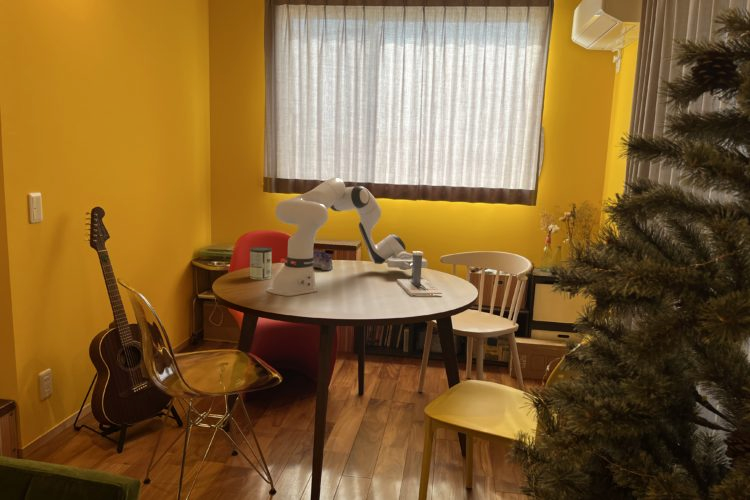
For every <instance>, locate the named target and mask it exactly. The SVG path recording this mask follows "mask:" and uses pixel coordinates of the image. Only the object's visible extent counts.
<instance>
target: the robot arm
mask: <svg viewBox="0 0 750 500" xmlns="http://www.w3.org/2000/svg"><path fill="white" fill-rule="evenodd" d="M329 208H330V209H331V210H332V211H334V212H346V211H353V210H356V212H357V214H358V215H359V223H358V227H359V231H360V234H361V236H362V239H363V241H364V243H365V246H366V249H367V252H368V255H369V258H370V260H371V261H372V262H373V263H374V264H376V265H382V264H384V263H385V264H386V266H387V268H394V269H395V268H398V269H399V270H402V271H406V270H412V263H413V254H412V253H410V252H407V251H406V250H407V249H406V244H405V242H404V241H403V240H402V239H401V238H400V237H399V236H398V235H397V234H393V233H390V234H389V235H388V236H386V237H384V238H383V239H382V240H381V241H379V242H377V244H375V242H374V240H373V237H372V231H373V229H374V228H375V226H376V225H377V224H378V222H379V221H380V218H381V217H382V209H381V206H380V204H379V203H378V200H377V199H376V198H375V196H374V195H373V194H372V193H371V192H370V191H369V189H367V188H366V187H365V186H361V185H355V186H347V187H346V184H345V182H344V181H343V180H342V179H341V178H338V177H331V178H329V179H327V180H325V181H323V182H321V183H320V184H319V185H317V186H315V187H314V188H313V189H311V190H309V191H307V192H305V193H302V194H300V195H297V196H295V197H292V198H287V199H283V200H280V201H279V202H278V204H276V207H275V217H276V218H277V220H278V221H280V222H282V223H284V224H287V225H292V226H297V228H296V229H297V230H296V231H295V234H292V235H290V236H289V238H288V240H287V256H286V258H281V259H280V263H281V264H284V266H283V267H282V268H281V269H280V270H279V272H278V273H276V274H275V276H274V277H273V279H272V286H271V287H267V289H266V292H267V293H270V294H274V295H278V296H285V297H286V296H287V297H292V296H297V295H303V294H308V293H316V292H317V288H316V280H315V279H316V278H315V277H316V276H315V270H314V267H313V265H314V257H313V252H314V245H315V244H314V243H315V239H316V235H317V233H318V232H319V230H320V228H321V227H323V226H324V225H326V222H327V221H328V218H329V211H328V209H329ZM426 268H428V260H427V259H425V258H423V257H422V266H421V269H426Z"/></svg>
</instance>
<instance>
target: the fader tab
mask: <svg viewBox="0 0 750 500" xmlns="http://www.w3.org/2000/svg"><path fill="white" fill-rule="evenodd" d="M411 254H413V263H412V269H411V279H412V280H411V283H412V284H413V285H414V286H420V283H421V279H422V268H421V266H422V258H423V256H424V252H423V251H420V250H417V251H416V250H412V251H411Z"/></svg>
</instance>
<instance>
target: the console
mask: <svg viewBox="0 0 750 500" xmlns="http://www.w3.org/2000/svg"><path fill="white" fill-rule="evenodd" d="M411 280H412V278H409V279H408V278H397V279H396V283H397V282H398V283H399V284H400V285H401V286H402V287H403V288H404V289H405V290H406V291H407V292H408V293H409V294H410V295H430V294H431V295H433V294H442V295H443V292H441V291H440V290H439V289H438V288H437V287H435V286H434V285H433V284H432V283H430V282H429V281H428V280H427V279H425V278H423V279H422V278H421V283H420V286H422V287H423V288H424V289H425V290H427V291H425V290H419V289H418V287H415V286H414V285H413V284H412V283H411ZM398 283H397V284H398ZM399 284H398V285H399ZM400 285H399V286H400ZM401 286H400V287H401ZM402 287H401V288H402ZM403 288H402V289H403ZM404 289H403V290H404ZM405 290H404V291H405ZM406 291H405V292H406ZM407 292H406V293H407ZM408 293H407V294H408ZM409 294H408V295H409ZM410 295H409V296H410Z"/></svg>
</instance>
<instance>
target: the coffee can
mask: <svg viewBox="0 0 750 500" xmlns="http://www.w3.org/2000/svg"><path fill="white" fill-rule="evenodd" d="M272 253H273V248H271V247H270V246H269V247H268V246H254V247H250V248H249V279H252V280H256V281H258V280H259V281H266V280H270V279H272V265H273V264H272V263H273V262H272V260H273V259H272V258H273V257H272Z"/></svg>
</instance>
